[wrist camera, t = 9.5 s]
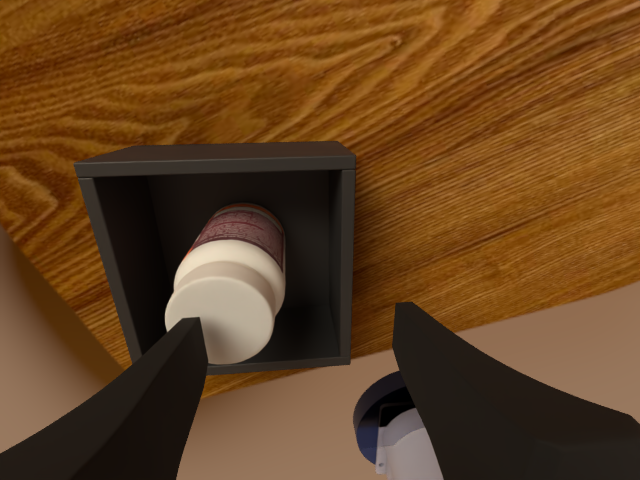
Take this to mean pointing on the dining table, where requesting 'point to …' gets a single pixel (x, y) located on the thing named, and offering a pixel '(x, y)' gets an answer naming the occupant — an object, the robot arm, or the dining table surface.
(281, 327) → the open storage bin
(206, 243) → the pill bottle
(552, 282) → the dining table surface
